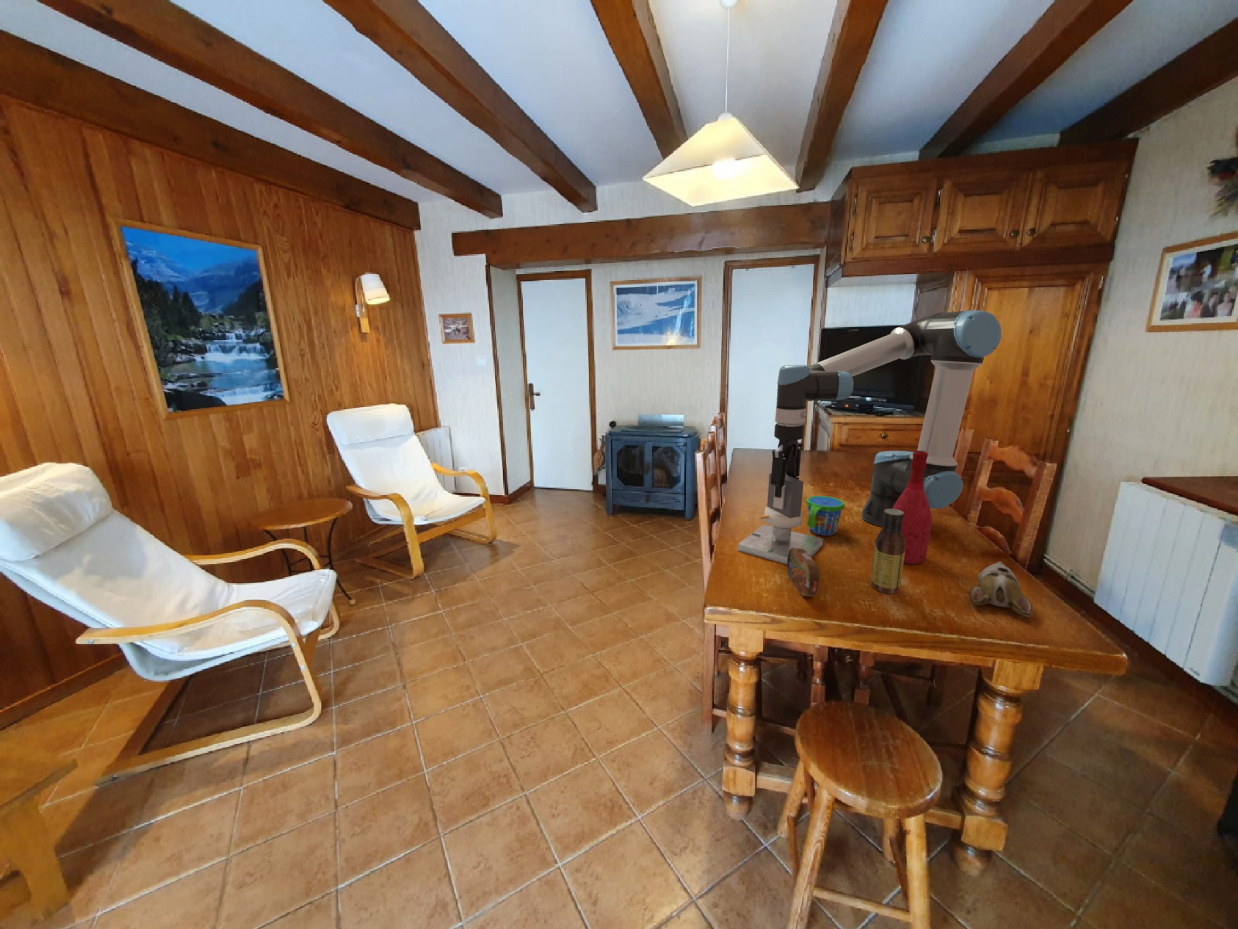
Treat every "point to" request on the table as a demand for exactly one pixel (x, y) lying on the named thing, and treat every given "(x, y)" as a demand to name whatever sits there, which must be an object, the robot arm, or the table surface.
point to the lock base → (779, 549)
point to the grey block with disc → (785, 505)
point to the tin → (803, 572)
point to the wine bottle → (915, 512)
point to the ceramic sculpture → (1000, 590)
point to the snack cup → (824, 514)
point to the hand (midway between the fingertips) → (783, 504)
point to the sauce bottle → (889, 553)
